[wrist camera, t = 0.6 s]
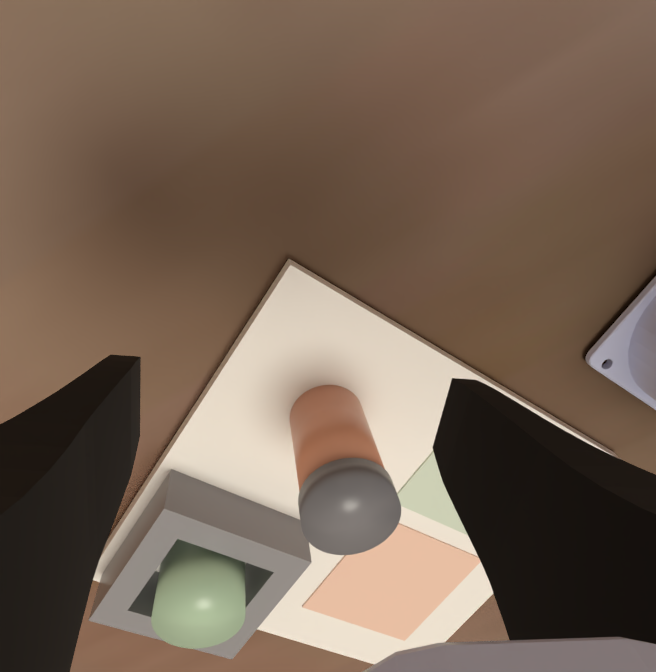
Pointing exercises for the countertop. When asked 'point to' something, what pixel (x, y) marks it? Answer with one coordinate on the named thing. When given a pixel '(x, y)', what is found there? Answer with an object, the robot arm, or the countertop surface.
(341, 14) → the countertop surface
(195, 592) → the button
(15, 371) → the countertop surface
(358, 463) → the cylinder
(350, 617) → the white sorting board
